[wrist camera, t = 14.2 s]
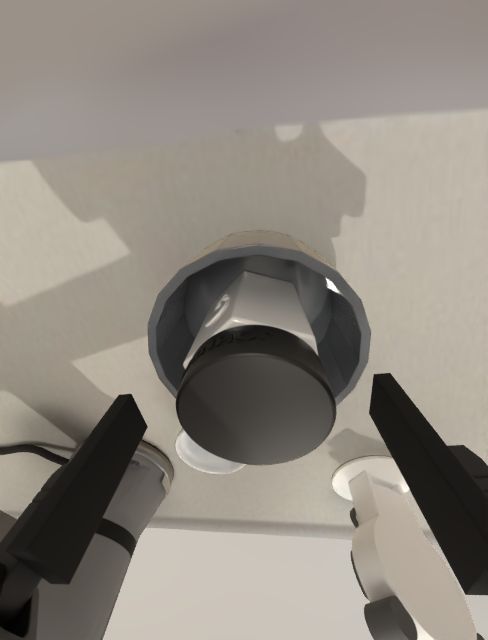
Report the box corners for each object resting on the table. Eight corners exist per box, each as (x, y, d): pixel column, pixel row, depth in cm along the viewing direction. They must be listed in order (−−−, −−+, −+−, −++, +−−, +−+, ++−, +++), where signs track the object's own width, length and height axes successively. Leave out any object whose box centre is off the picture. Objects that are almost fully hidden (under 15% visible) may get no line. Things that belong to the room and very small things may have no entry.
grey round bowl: (201, 377, 27) (181, 434, 20) (160, 244, 20) (112, 265, 14) (334, 366, 25) (361, 426, 18) (338, 216, 18) (383, 224, 12)
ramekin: (174, 401, 29) (161, 432, 25) (240, 389, 28) (237, 420, 24) (200, 445, 33) (192, 477, 29) (260, 437, 31) (260, 470, 27)
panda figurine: (312, 483, 35) (343, 653, 22) (364, 443, 30) (444, 631, 17) (374, 507, 37) (436, 677, 24) (431, 474, 32) (550, 664, 19)
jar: (260, 249, 19) (259, 308, 9) (321, 311, 22) (380, 418, 11) (196, 316, 23) (138, 418, 12) (254, 364, 25) (249, 485, 14)
